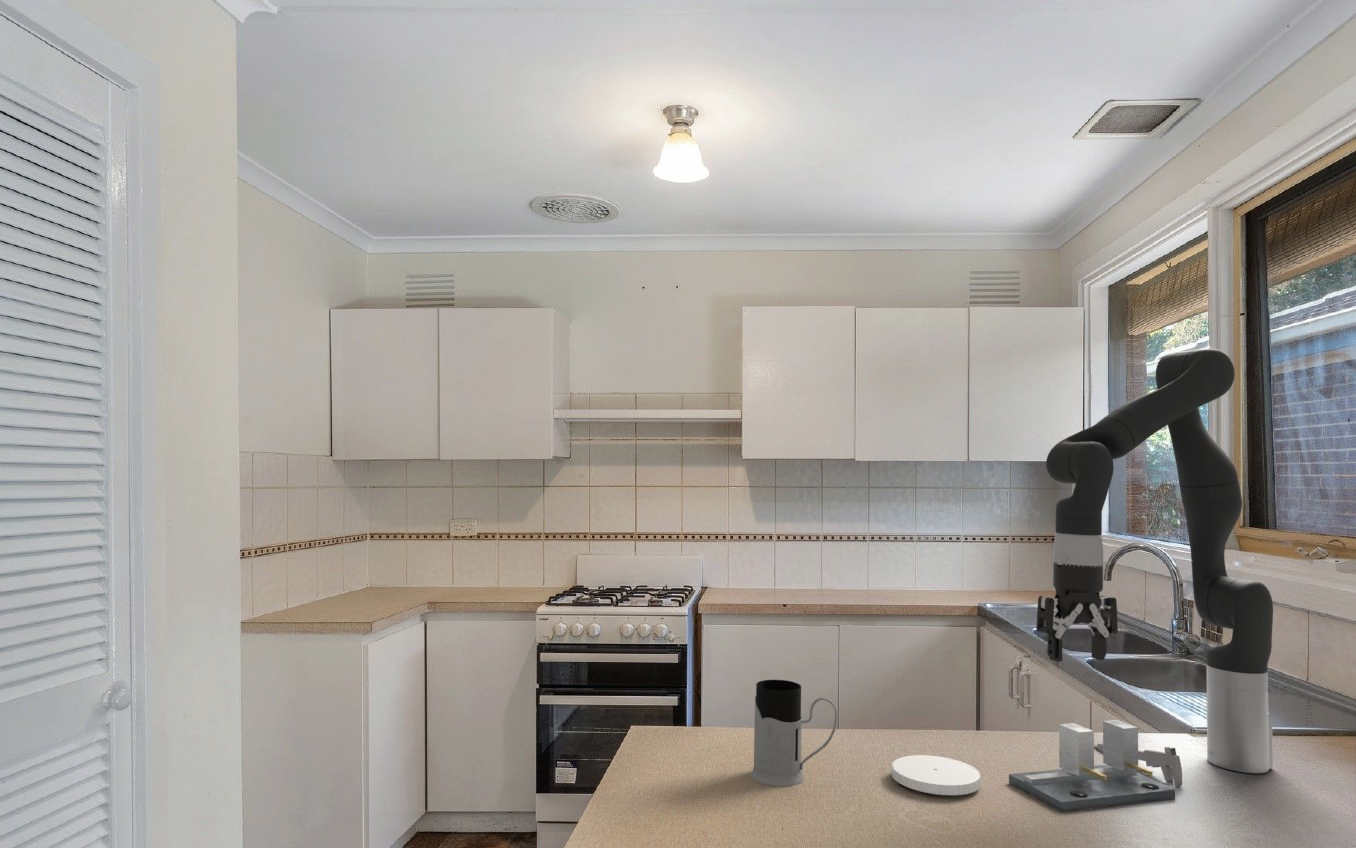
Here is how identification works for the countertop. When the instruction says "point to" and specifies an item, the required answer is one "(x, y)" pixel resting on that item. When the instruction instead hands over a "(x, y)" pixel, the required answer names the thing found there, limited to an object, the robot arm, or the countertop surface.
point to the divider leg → (1077, 750)
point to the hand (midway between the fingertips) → (1076, 659)
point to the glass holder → (780, 733)
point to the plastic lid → (936, 775)
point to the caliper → (1161, 762)
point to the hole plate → (1090, 788)
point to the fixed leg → (1121, 746)
